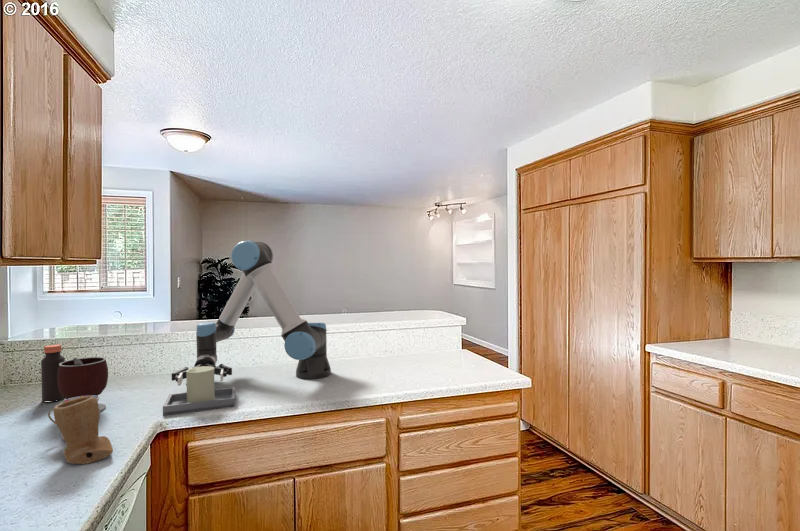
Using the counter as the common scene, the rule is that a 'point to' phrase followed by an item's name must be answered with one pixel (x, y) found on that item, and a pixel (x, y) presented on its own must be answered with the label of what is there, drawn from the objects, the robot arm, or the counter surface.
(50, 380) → the bottle
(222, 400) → the tray
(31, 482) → the counter surface
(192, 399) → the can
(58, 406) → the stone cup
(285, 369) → the counter surface
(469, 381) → the counter surface
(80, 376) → the mate gourd
